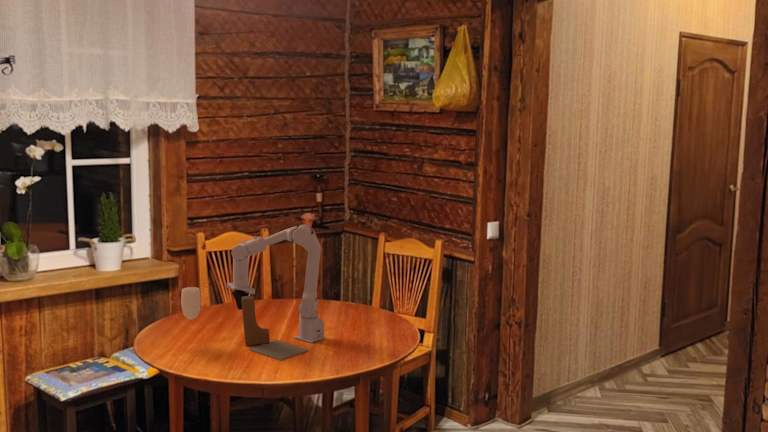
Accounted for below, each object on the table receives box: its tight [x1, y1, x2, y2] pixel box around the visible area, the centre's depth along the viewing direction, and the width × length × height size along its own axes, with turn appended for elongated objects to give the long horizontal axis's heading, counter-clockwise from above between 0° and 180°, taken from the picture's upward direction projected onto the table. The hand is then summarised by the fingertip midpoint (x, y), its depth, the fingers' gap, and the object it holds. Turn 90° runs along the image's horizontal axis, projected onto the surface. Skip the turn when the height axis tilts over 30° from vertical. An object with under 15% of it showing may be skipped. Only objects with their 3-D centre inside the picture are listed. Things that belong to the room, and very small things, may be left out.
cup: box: [180, 286, 202, 321], centre depth 286 cm, size 7×7×21 cm
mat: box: [248, 339, 309, 362], centre depth 281 cm, size 17×14×1 cm
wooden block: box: [241, 295, 271, 346], centre depth 286 cm, size 9×4×18 cm, turn 99°
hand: (240, 308), depth 296 cm, fingers closed
